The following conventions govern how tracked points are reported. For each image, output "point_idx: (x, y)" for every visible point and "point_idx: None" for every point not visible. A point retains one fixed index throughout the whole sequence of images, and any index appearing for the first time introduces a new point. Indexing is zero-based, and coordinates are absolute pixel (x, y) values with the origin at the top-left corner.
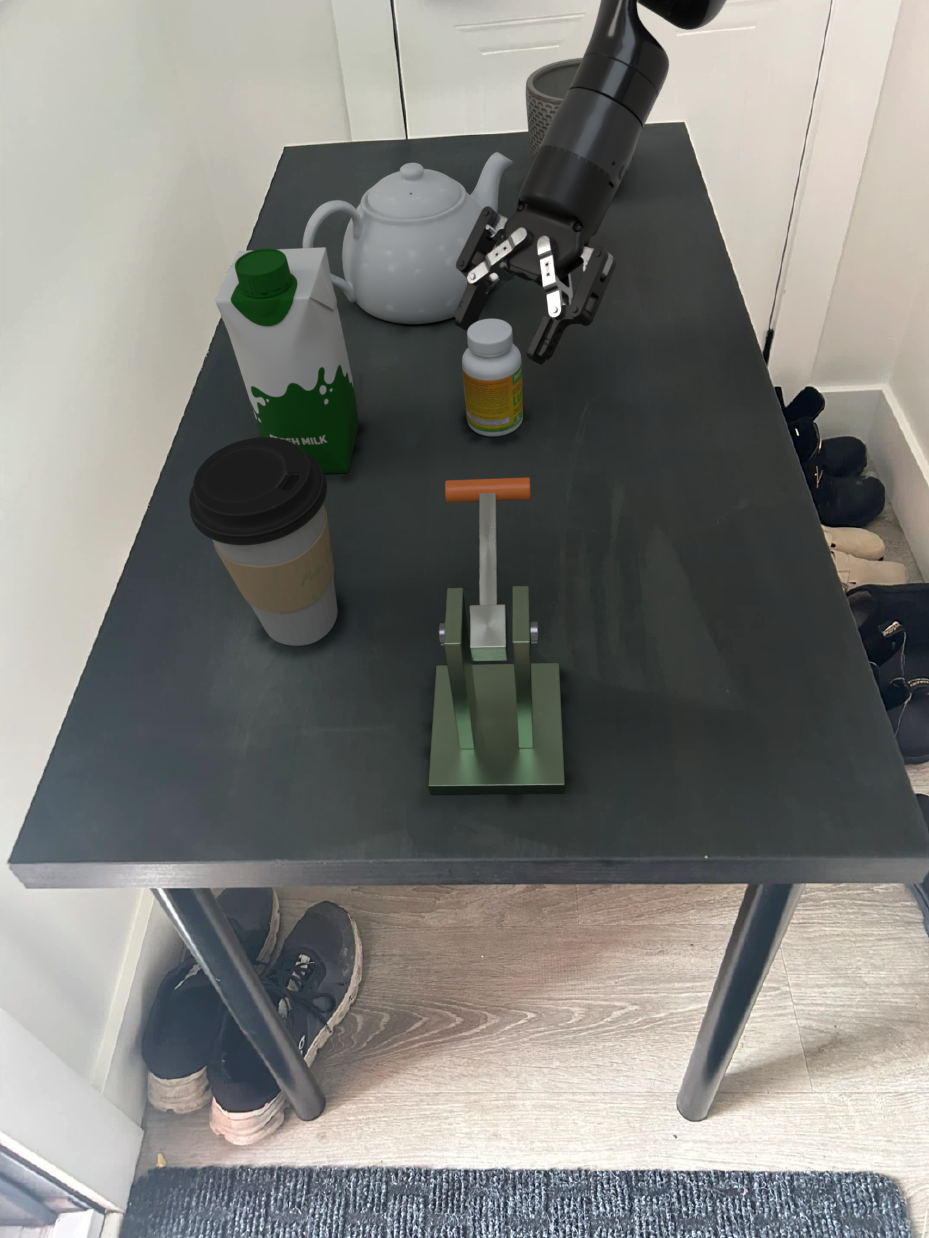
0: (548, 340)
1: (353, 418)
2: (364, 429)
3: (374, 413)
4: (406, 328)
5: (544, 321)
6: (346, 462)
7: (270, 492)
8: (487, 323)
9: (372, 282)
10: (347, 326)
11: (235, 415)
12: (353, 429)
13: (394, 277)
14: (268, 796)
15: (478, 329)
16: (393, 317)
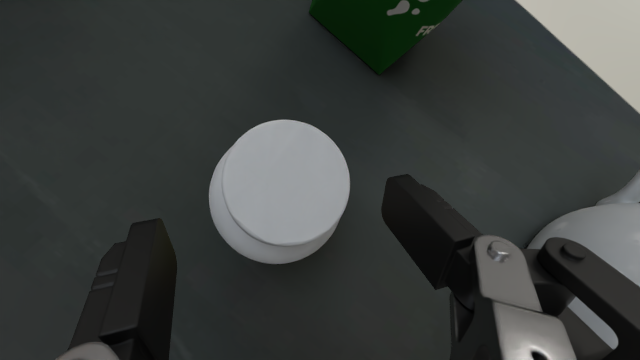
0: (99, 286)
1: (355, 12)
2: (368, 76)
3: (388, 103)
4: (521, 244)
5: (125, 312)
6: (313, 2)
7: None
8: (322, 197)
9: (620, 211)
10: (558, 186)
11: (472, 3)
12: (350, 25)
13: (618, 236)
14: None
15: (315, 161)
16: (544, 229)
